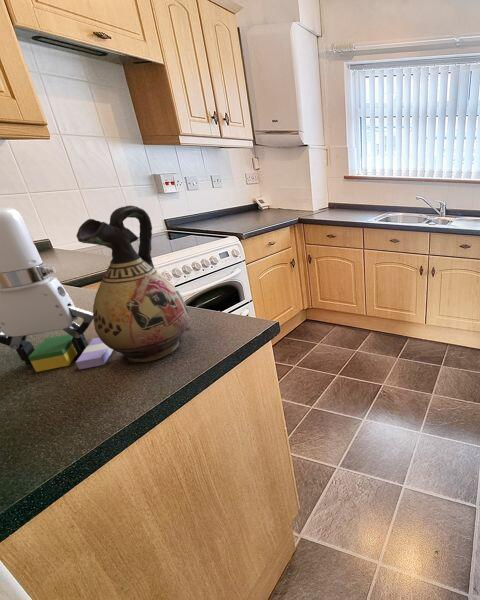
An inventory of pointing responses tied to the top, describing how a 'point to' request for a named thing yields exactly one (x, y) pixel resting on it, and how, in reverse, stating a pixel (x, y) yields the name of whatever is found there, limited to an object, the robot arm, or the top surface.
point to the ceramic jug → (134, 292)
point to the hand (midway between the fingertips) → (58, 356)
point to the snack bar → (94, 354)
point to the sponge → (53, 353)
